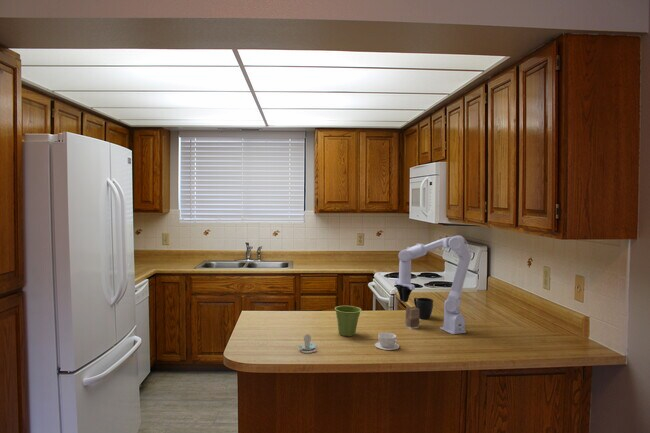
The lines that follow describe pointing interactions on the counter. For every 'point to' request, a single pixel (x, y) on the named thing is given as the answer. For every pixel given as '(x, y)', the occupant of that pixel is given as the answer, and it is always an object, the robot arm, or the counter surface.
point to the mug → (424, 307)
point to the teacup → (387, 341)
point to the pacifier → (308, 345)
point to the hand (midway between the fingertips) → (403, 301)
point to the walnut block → (412, 317)
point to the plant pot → (347, 319)
